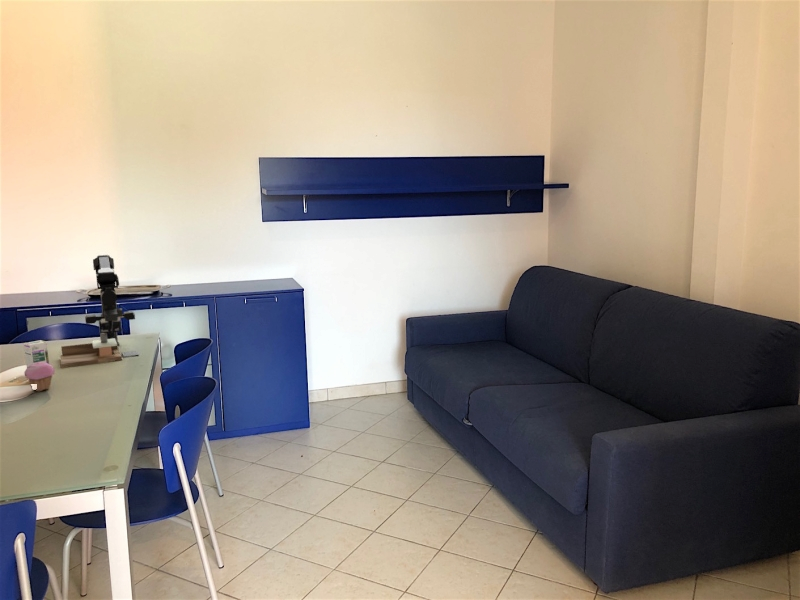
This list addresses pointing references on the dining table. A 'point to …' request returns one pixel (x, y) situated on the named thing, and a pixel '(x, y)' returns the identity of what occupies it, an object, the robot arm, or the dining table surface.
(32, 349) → the syrup box
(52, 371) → the cupcake
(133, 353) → the grey pad
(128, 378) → the dining table surface
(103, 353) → the terracotta block
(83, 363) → the walnut board
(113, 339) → the sliding cover
